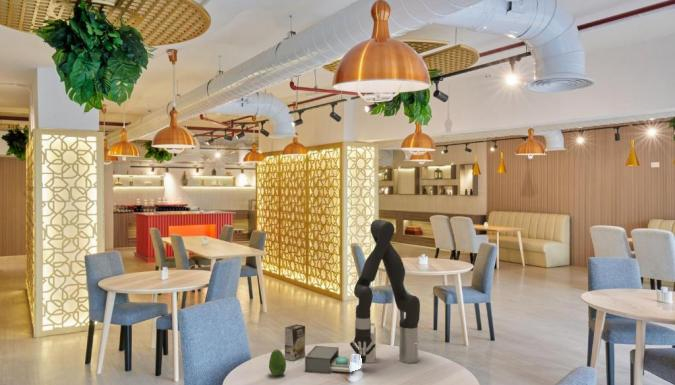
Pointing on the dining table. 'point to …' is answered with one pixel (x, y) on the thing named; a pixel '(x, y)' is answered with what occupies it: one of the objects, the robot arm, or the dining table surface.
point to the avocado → (277, 363)
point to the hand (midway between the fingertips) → (362, 362)
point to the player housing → (320, 359)
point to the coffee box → (294, 342)
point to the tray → (339, 366)
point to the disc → (341, 360)
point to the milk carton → (372, 354)
